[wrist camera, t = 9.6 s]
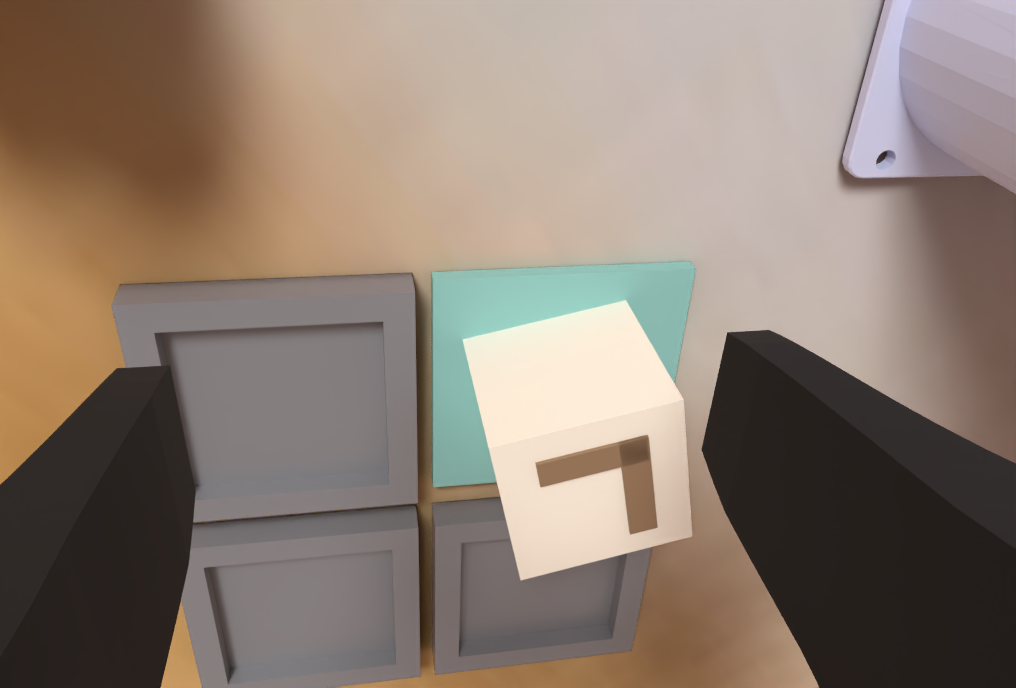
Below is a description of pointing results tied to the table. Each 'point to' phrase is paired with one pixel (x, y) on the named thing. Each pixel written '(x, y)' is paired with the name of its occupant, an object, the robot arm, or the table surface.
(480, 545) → the tray
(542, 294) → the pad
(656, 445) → the letter cube
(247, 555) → the tray
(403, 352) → the tray
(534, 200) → the table surface
